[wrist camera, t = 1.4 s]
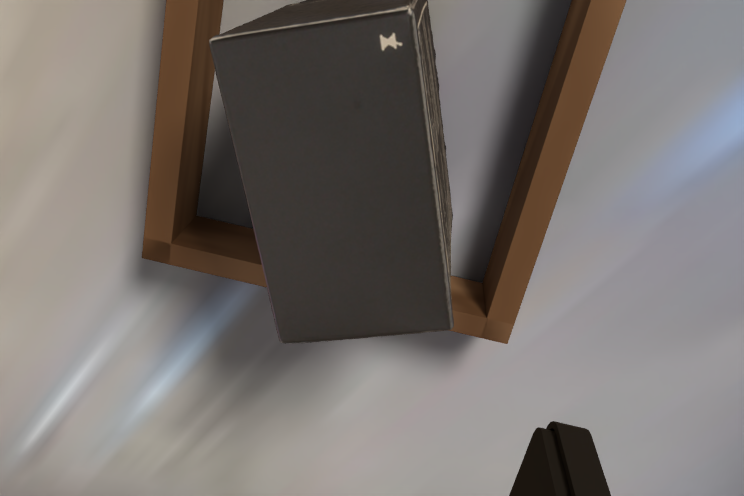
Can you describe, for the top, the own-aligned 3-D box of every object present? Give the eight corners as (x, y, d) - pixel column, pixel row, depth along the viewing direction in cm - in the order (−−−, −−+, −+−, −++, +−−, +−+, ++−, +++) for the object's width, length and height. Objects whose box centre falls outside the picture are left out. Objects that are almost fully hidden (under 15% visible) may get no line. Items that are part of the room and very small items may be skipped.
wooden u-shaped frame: (655, -157, 26) (685, -171, 23) (500, 306, 34) (507, 344, 31) (223, -261, 26) (194, -290, 23) (169, 228, 34) (142, 257, 31)
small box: (272, 3, 30) (193, 31, 20) (427, -22, 29) (421, -5, 19) (318, 236, 34) (271, 351, 24) (455, 220, 33) (463, 333, 23)
